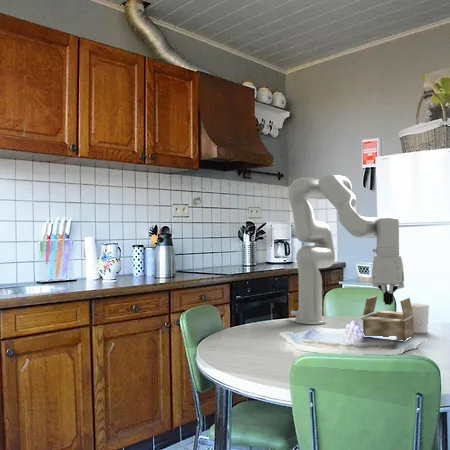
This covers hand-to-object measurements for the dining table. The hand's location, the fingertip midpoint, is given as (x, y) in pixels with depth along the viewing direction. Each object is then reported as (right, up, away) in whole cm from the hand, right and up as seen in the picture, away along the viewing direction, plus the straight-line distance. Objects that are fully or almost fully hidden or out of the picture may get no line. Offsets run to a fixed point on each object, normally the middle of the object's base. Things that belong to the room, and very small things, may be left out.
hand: (388, 304), depth 167 cm
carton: (0, -11, 0) cm, 11 cm away
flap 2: (+6, -4, -4) cm, 8 cm away
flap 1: (-6, -4, +4) cm, 8 cm away
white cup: (+15, -12, +10) cm, 21 cm away
